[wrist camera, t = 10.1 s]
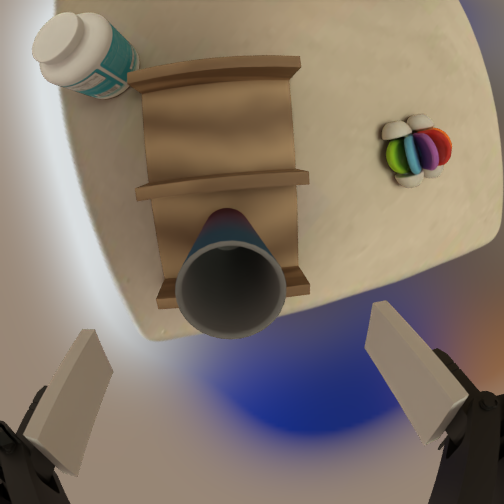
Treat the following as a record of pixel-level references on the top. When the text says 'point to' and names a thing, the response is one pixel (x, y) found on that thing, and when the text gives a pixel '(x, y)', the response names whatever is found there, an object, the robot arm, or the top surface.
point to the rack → (221, 156)
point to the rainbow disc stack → (416, 149)
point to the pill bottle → (85, 54)
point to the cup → (230, 279)
